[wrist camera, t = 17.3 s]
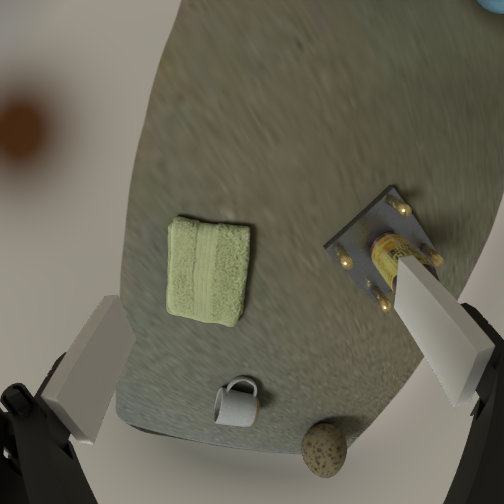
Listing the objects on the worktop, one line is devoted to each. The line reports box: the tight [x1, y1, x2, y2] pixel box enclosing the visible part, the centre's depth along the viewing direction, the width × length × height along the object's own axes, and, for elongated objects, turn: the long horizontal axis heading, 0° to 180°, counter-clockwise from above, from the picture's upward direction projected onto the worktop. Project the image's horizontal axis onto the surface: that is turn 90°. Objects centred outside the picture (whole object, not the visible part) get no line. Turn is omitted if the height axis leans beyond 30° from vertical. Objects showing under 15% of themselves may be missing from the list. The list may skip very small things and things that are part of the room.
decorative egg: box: [301, 423, 347, 478], centre depth 60 cm, size 11×11×15 cm
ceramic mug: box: [214, 376, 260, 427], centre depth 57 cm, size 11×8×8 cm
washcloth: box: [166, 216, 251, 327], centre depth 48 cm, size 13×18×3 cm
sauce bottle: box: [371, 232, 439, 295], centre depth 36 cm, size 7×6×20 cm
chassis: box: [324, 185, 444, 313], centre depth 44 cm, size 14×14×6 cm
